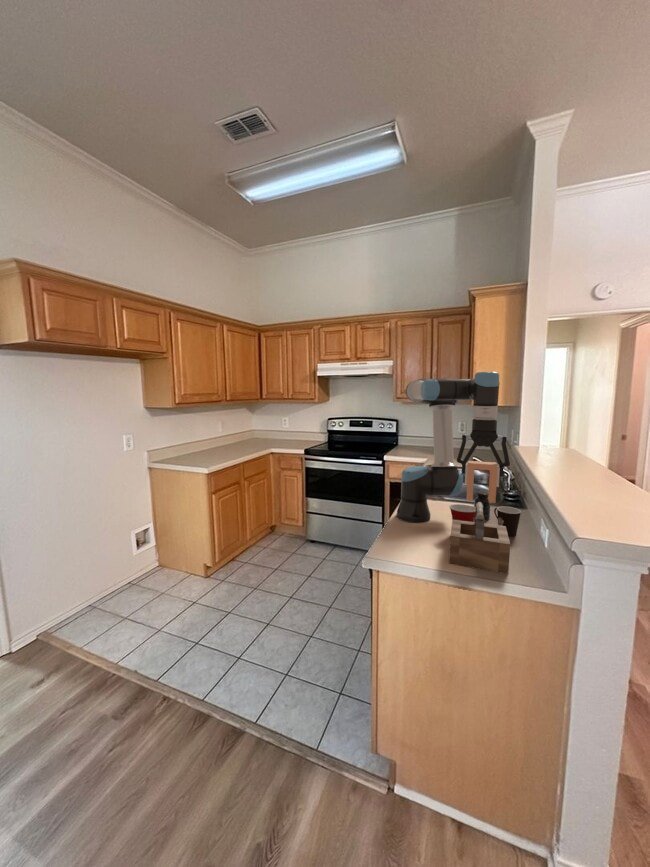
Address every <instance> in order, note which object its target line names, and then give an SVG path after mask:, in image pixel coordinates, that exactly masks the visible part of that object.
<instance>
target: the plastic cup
mask: <svg viewBox="0 0 650 867" xmlns="http://www.w3.org/2000/svg"><path fill="white" fill-rule="evenodd" d="M448 507H449V509H450V515H451V519H452V520H460V521H468V522H475V511H476V507H474V505H469V504H460V503H459V504H456V503H455V504H450V505H449V506H448Z"/></svg>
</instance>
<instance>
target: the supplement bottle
mask: <svg viewBox="0 0 650 867" xmlns="http://www.w3.org/2000/svg"><path fill="white" fill-rule="evenodd" d="M488 495H489V492H488V491H482V490H480V491H477V493H476V497H475V498H473V502H474V503H473V507H476V504H477V503H478V502H481V503H482V505H483V516H484V521H488V520H490V517H491V516H490V515H491V503H489V500H488Z"/></svg>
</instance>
